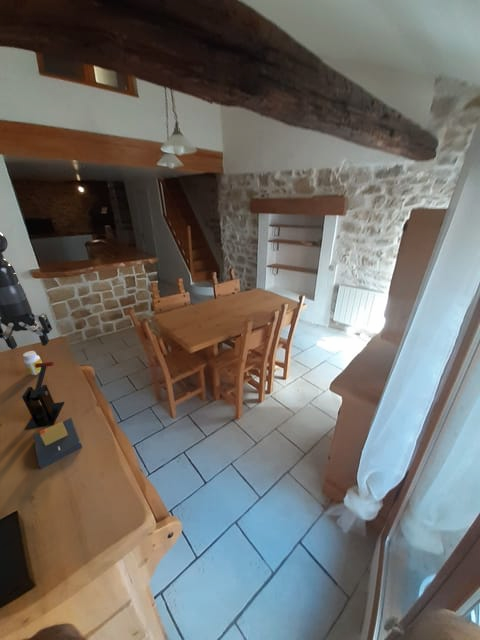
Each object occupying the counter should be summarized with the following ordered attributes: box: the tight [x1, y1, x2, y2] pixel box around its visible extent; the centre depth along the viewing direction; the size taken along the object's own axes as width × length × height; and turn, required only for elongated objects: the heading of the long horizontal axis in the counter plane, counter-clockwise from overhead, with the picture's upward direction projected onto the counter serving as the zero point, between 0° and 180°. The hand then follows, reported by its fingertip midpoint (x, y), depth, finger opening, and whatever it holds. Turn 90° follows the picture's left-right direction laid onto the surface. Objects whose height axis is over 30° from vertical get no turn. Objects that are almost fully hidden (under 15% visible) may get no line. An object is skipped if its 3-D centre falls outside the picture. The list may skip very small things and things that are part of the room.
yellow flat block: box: [39, 421, 68, 446], centre depth 73 cm, size 6×2×5 cm, turn 132°
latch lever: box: [29, 361, 55, 401], centre depth 83 cm, size 13×5×2 cm, turn 15°
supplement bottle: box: [22, 350, 43, 376], centre depth 103 cm, size 5×5×10 cm
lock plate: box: [32, 417, 83, 470], centre depth 75 cm, size 12×10×3 cm
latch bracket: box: [21, 384, 65, 431], centre depth 82 cm, size 10×8×12 cm
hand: (30, 346), depth 80 cm, fingers open, 8 cm apart
